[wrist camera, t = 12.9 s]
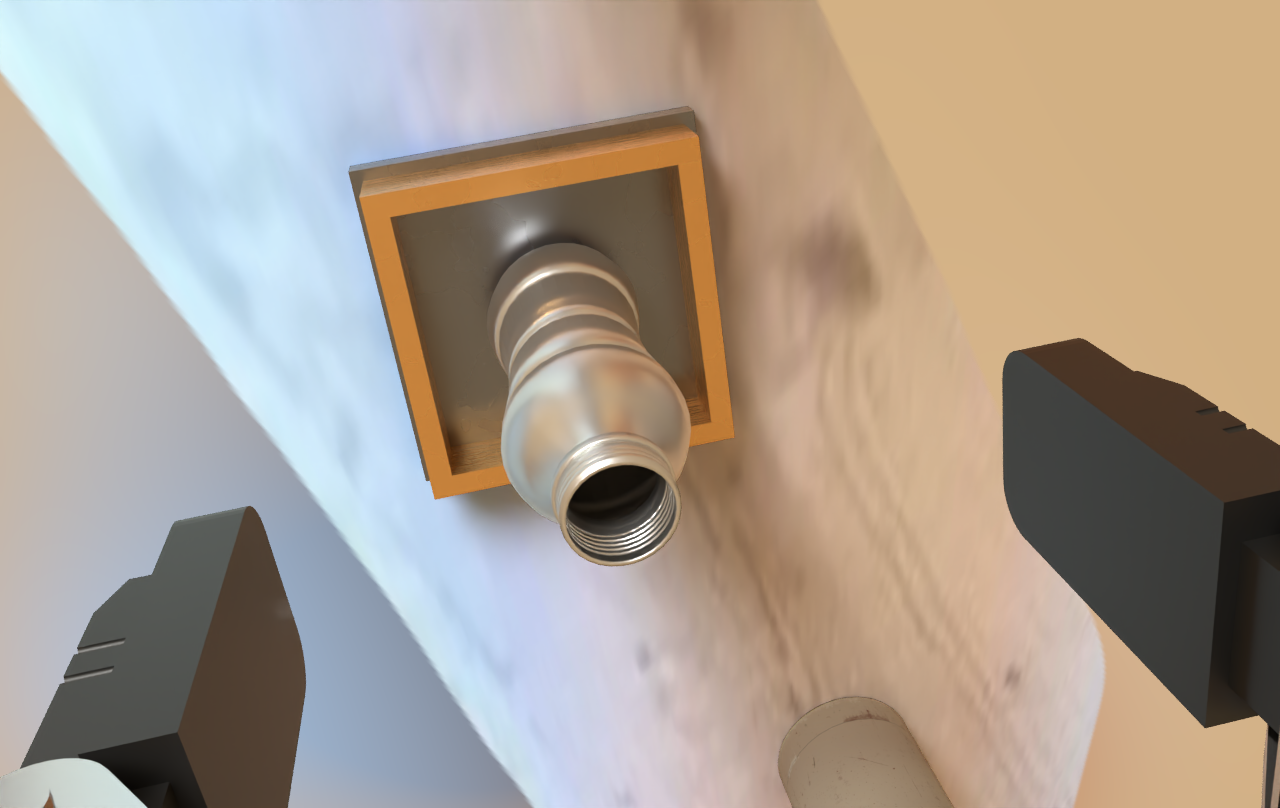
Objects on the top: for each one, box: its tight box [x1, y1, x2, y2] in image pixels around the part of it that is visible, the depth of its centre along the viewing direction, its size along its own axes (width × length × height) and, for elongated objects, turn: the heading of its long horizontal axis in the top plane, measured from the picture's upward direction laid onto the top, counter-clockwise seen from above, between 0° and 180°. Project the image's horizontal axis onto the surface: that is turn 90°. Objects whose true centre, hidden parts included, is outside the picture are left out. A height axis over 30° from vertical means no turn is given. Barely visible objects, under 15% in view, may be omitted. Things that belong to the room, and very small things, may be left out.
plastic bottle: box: [487, 243, 691, 566], centre depth 43 cm, size 6×7×20 cm
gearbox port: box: [349, 106, 735, 499], centre depth 51 cm, size 15×15×4 cm
